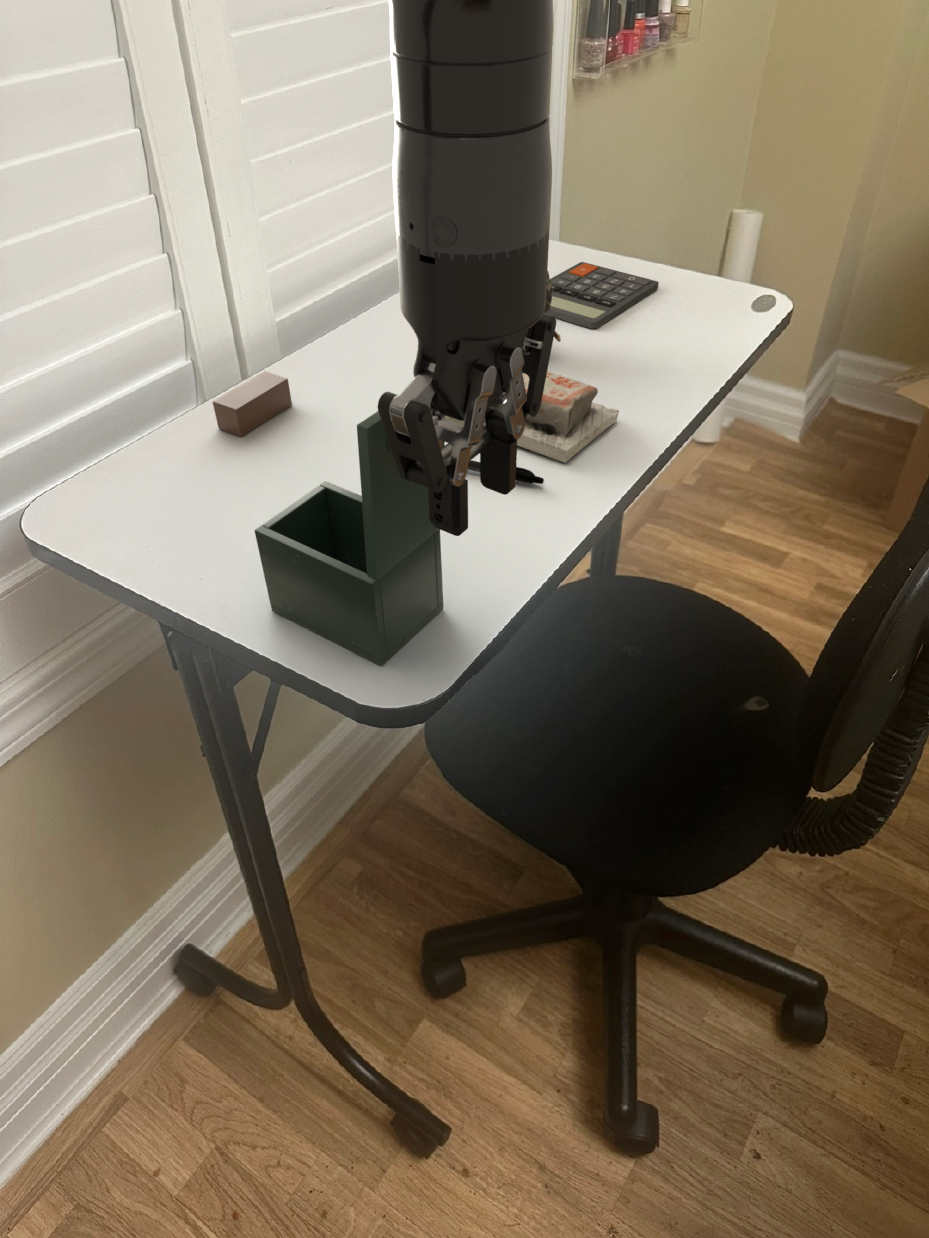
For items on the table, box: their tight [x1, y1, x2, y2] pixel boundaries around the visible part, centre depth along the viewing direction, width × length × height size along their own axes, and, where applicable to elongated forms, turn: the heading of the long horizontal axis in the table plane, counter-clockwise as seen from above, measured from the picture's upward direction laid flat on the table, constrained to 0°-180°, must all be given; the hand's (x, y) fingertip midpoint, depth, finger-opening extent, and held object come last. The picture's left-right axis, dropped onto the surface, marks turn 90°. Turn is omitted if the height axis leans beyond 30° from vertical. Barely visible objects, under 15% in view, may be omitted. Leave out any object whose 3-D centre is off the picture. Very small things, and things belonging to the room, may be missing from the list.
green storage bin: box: [254, 480, 444, 667], centre depth 67 cm, size 11×8×8 cm
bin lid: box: [356, 410, 492, 581], centre depth 57 cm, size 12×8×5 cm
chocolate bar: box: [212, 370, 293, 438], centre depth 91 cm, size 3×8×3 cm, turn 147°
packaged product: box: [445, 370, 620, 464], centre depth 89 cm, size 18×5×10 cm
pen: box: [467, 459, 545, 485], centre depth 83 cm, size 14×2×1 cm, turn 66°
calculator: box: [545, 261, 660, 330], centre depth 112 cm, size 12×1×15 cm
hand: (474, 507), depth 55 cm, fingers closed on bin lid, 4 cm apart
